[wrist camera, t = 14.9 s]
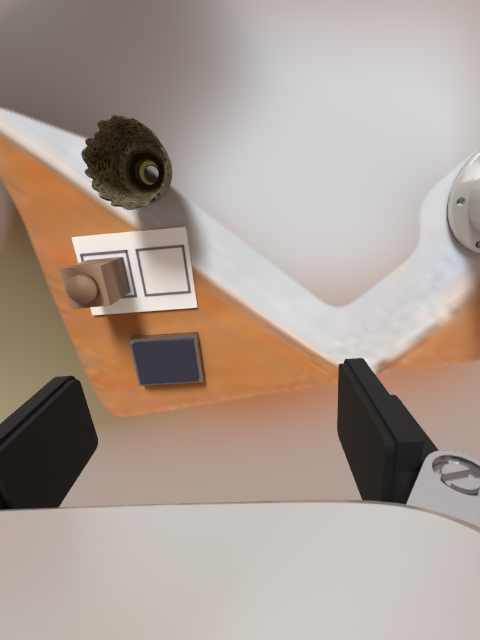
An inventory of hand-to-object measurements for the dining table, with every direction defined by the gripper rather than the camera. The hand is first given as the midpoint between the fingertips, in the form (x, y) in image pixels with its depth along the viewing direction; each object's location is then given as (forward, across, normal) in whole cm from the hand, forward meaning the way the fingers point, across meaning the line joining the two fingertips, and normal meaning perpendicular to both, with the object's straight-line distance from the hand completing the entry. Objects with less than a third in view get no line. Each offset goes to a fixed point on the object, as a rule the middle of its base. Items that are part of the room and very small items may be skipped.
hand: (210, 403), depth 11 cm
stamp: (+28, +16, 0) cm, 32 cm away
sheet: (+28, +13, 0) cm, 31 cm away
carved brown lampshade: (+28, +9, -11) cm, 32 cm away
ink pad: (+28, +11, +12) cm, 33 cm away
